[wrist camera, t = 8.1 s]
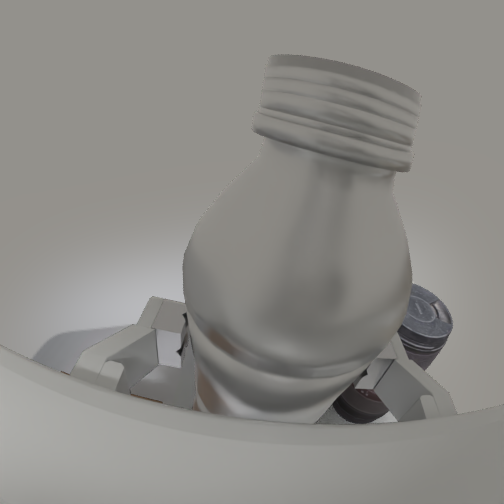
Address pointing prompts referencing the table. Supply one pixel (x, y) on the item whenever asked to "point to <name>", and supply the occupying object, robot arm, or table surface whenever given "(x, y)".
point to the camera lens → (417, 349)
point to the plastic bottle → (303, 246)
